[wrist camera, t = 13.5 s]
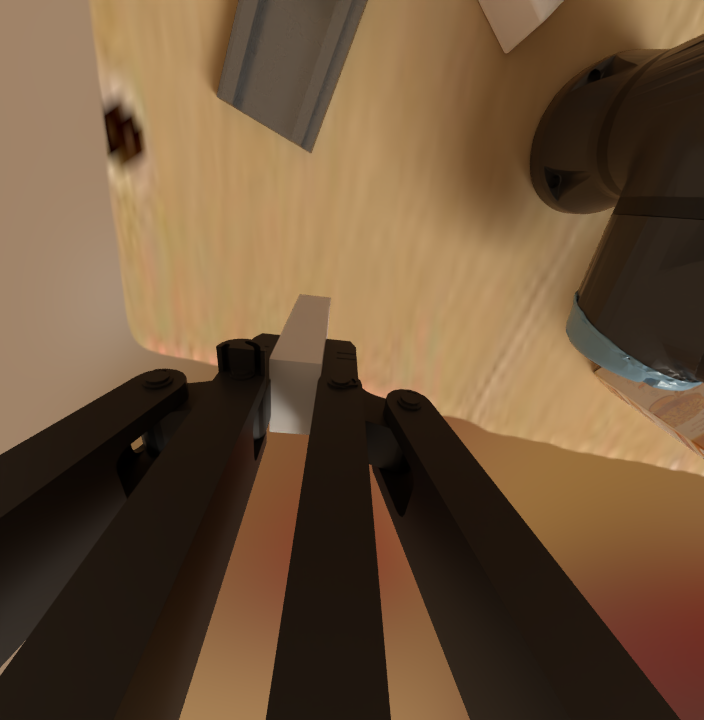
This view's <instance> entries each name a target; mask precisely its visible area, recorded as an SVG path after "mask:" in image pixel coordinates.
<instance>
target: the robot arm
mask: <svg viewBox="0 0 704 720" xmlns="http://www.w3.org/2000/svg"><path fill="white" fill-rule="evenodd" d="M530 169H531V177H532V181H533V185H534V187H535V190H536V192H537V194H538V195H539V197H540V198H541V199H542V200H543V201H544V203H546V204H547V205H548V206H549V207H551V208H553V209H555V210H557V211H560V212H564V213H572V214H590V213H596V212H601V211H604V210H607V209H610V208H612V207H615V206H616V207H615V209H614V211H613V213H612V215H611V217H610V220H609V222H608V224H607V226H606V229H605V231H604V233H603V236H602V238H601V240H600V242H599V245H598V247H597V249H596V251H595V254H594V256H593V258H592V261H591V263H590V265H589V267H588V270H587V272H586V274H585V276H584V279H583V281H582V283H581V286H580V288H579V290H578V291H577V292H576V293H575V295H574V298H573V303H574V304H573V307H572V309H571V312H570V315H569V317H568V320H567V323H566V333H567V335H568V337H569V340H570V342H571V343H572V344H573V346H574V347H575V348H576V349H577V350H578V351H579V352H581V353H582V354H583V355H584V356H586V357H587V358H588V359H590V360H591V361H593V362H594V363H596V364H598V365H599V366H601V367H603V368H605V369H607V370H609V371H611V372H613V373H615V374H617V375H619V376H621V377H624V378H626V379H629V380H632V381H634V382H642V381H643V382H644V383H646V384H648V385H649V386H651V387H654V388H659V389H663V390H670V391H684V390H688V389H691V388H693V387H695V386H698V385H700V384H702V383H704V34H702V35H700V36H698V37H696V38H694V39H691V40H689V41H687V42H685V43H683V44H681V45H679V46H677V47H674V48H672V49H636V50H628V51H624V52H620V53H617V54H614V55H611V56H609V57H607V58H605V59H603V60H601V61H599V62H597V63H595V64H594V65H592V66H590V67H588V68H586V69H585V70H583V71H582V72H580V73H579V74H577V75H576V76H575V77H574V78H572V79H571V80H570V81H569V82H568V83H567V84H566V85H565V86H564V87H563V88H562V89H561V90H560V92H559V93H558V94H557V95H556V96H555V98H554V99H553V100H552V102H551V103H550V105H549V106H548V108H547V110H546V111H545V113H544V115H543V117H542V119H541V121H540V123H539V126H538V128H537V131H536V134H535V137H534V140H533V144H532V150H531V158H530ZM330 302H331V298H329V297H320V296H311V295H302V294H300V295H299V297H298V299H297V301H296V303H295V305H294V307H293V309H292V312H291V314H290V316H289V318H288V320H287V322H286V324H285V326H284V329H283V331H282V333H281V335H274V334H264V333H262V334H260V335H258V336H256V337H254V338H253V339H252V340H251V339H233V340H228V341H225V342H222V343H220V344H219V345H217V346H216V349H217V358H218V368H219V372H218V374H217V375H216V377H215V378H214V379H213V380H212V381H206V382H197V383H187V378H186V376H185V375H184V373H182V372H180V371H178V370H173V369H155V370H153V371H148V372H145V373H143V374H140V375H138V376H136V377H134V378H132V379H131V380H129V381H127V382H126V383H124V384H122V385H121V386H119V387H117V388H115V389H113V390H112V391H110V392H108V393H107V394H105V395H103V396H102V397H100V398H98V399H96V400H94V401H93V402H91V403H89V404H88V405H86V406H84V407H82V408H81V409H79V410H77V411H75V412H74V413H72V414H70V415H69V416H67V417H65V418H64V419H62V420H60V421H58V422H56V423H55V424H53V425H51V426H50V427H48V428H46V429H44V430H43V431H41V432H39V433H37V434H36V435H34V436H33V437H30V438H29V439H27V440H25V441H23V442H22V443H20V444H18V445H17V446H15V447H13V448H12V449H10V450H8V451H6V452H5V453H3V454H1V455H0V667H1V666H2V665H3V664H4V663H5V662H6V661H7V660H8V659H9V658H10V657H11V655H12V654H13V653H14V652H15V651H16V650H17V649H18V648H19V647H20V646H21V645H22V644H23V642H24V641H25V640H26V641H25V642H24V644H23V645H22V647H21V648H20V649H19V650H18V652H17V653H16V655H15V656H14V657H13V659H12V660H11V662H10V663H9V664H8V666H7V667H6V669H5V670H4V671H3V673H2V674H1V675H0V720H179V718H180V714H181V711H182V708H183V705H184V702H185V698H186V695H187V692H188V689H189V686H190V683H191V680H192V677H193V673H194V670H195V667H196V664H197V661H198V657H199V654H200V651H201V648H202V645H203V642H204V638H205V635H206V632H207V629H208V626H209V623H210V620H211V616H212V613H213V610H214V607H215V604H216V601H217V597H218V594H219V591H220V588H221V585H222V582H223V579H224V575H225V572H226V569H227V566H228V563H229V560H230V556H231V553H232V550H233V547H234V544H235V541H236V537H237V534H238V531H239V528H240V525H241V522H242V518H243V515H244V512H245V509H246V506H247V503H248V500H249V496H250V493H251V490H252V487H253V484H254V481H255V477H256V474H257V471H258V468H259V465H260V462H261V458H262V455H263V452H264V449H265V446H266V430H267V427H268V424H269V421H270V432H282V433H295V434H306V435H309V442H308V448H307V455H306V461H305V468H304V474H303V481H302V487H301V494H300V500H299V507H298V513H297V520H296V527H295V533H294V539H293V546H292V553H291V559H290V565H289V572H288V578H287V585H286V591H285V598H284V604H283V611H282V617H281V624H280V630H279V637H278V644H277V650H276V657H275V663H274V670H273V676H272V682H271V689H270V695H269V702H268V709H267V715H266V720H391V716H390V705H389V692H388V681H387V669H386V659H385V646H384V634H383V623H382V611H381V599H380V588H379V576H378V565H377V553H376V542H375V531H374V519H373V507H372V495H371V484H370V472H369V464H371V465H372V469H373V473H374V475H375V478H376V481H377V483H378V486H379V488H380V491H381V493H382V496H383V498H384V501H385V504H386V506H387V509H388V511H389V514H390V516H391V519H392V521H393V524H394V526H395V529H396V532H397V534H398V537H399V539H400V542H401V544H402V547H403V550H404V552H405V555H406V557H407V560H408V562H409V565H410V567H411V570H412V572H413V575H414V577H415V580H416V582H417V585H418V588H419V590H420V593H421V595H422V598H423V600H424V603H425V606H426V608H427V611H428V613H429V616H430V618H431V621H432V624H433V626H434V629H435V631H436V634H437V636H438V639H439V641H440V644H441V647H442V649H443V652H444V654H445V657H446V659H447V662H448V664H449V667H450V670H451V672H452V675H453V677H454V680H455V682H456V685H457V687H458V690H459V692H460V695H461V698H462V700H463V703H464V705H465V708H466V710H467V713H468V716H469V718H470V720H680V719H679V717H678V716H677V715H676V713H675V712H674V711H673V710H672V708H671V707H670V706H669V705H668V703H667V702H666V701H665V700H664V698H663V697H662V696H661V695H660V693H659V692H658V691H657V689H656V688H655V687H654V685H653V684H652V683H651V682H650V680H649V679H648V678H647V677H646V675H645V674H644V673H643V671H642V670H641V669H640V668H639V666H638V665H637V664H636V663H635V661H634V660H633V659H632V657H631V656H630V655H629V654H628V652H627V651H626V650H625V649H624V647H623V646H622V645H621V643H620V642H619V641H618V640H617V638H616V637H615V636H614V635H613V633H612V632H611V631H610V629H609V628H608V627H607V626H606V624H605V623H604V622H603V621H602V619H601V618H600V617H599V615H598V614H597V613H596V612H595V610H594V609H593V608H592V607H591V605H590V604H589V603H588V602H587V600H586V599H585V598H584V596H583V595H582V594H581V593H580V591H579V590H578V589H577V588H576V586H575V585H574V584H573V582H572V581H571V580H570V579H569V577H568V576H567V575H566V574H565V572H564V571H563V570H562V568H561V567H560V566H559V565H558V563H557V562H556V561H555V560H554V558H553V557H552V556H551V554H550V553H549V552H548V551H547V549H546V548H545V547H544V546H543V544H542V543H541V542H540V540H539V539H538V538H537V537H536V535H535V534H534V533H533V532H532V530H531V529H530V528H529V526H528V525H527V524H526V523H525V521H524V520H523V519H522V518H521V516H520V515H519V514H518V513H517V511H516V510H515V509H514V507H513V506H512V505H511V504H510V502H509V501H508V500H507V498H506V497H505V496H504V495H503V493H502V492H501V491H500V490H499V488H498V487H497V486H496V484H495V483H494V482H493V481H492V479H491V478H490V477H489V476H488V474H487V473H486V472H485V470H484V469H483V468H482V467H481V466H480V464H479V463H478V462H477V460H476V459H475V458H474V457H473V455H472V454H471V453H470V451H469V450H468V449H467V448H466V446H465V445H464V444H463V442H462V441H461V440H460V439H459V437H458V436H457V435H456V434H455V432H454V431H453V430H452V429H451V427H450V426H449V425H448V423H447V422H446V421H445V420H444V418H443V417H442V416H441V414H440V413H439V412H438V411H437V409H436V408H435V407H434V406H433V404H432V403H431V402H430V401H429V400H428V399H427V398H426V397H425V396H423V395H421V394H419V393H418V392H415V391H412V390H404V389H399V390H394V391H392V392H390V393H388V395H387V397H386V399H385V398H382V397H378V396H375V395H373V394H370V393H369V392H367V391H365V390H364V389H363V388H362V384H361V381H360V380H359V379H358V371H357V357H356V347H355V346H354V345H353V344H352V343H351V342H350V341H341V340H332V339H327V335H328V324H329V313H330ZM140 436H141V437H142V440H143V444H142V445H141V446H140V447H139V448H137V449H135V450H133V449H132V447H131V443H133V442H134V441H135V440H136V439H138V438H139V437H140Z"/></svg>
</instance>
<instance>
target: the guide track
mask: <svg viewBox="0 0 704 720" xmlns="http://www.w3.org/2000/svg"><path fill="white" fill-rule="evenodd" d="M367 1H368V0H239V1H238V6H237V10H236V14H235V19H234V23H233V27H232V32H231V36H230V40H229V45H228V49H227V53H226V58H225V62H224V66H223V71H222V75H221V79H220V84H219V88H218V92H217V97H218V98H219V99H221V100H223V101H224V102H226V103H228V104H229V105H231V106H233V107H234V108H236V109H238V110H239V111H241V112H243V113H244V114H246V115H248V116H249V117H251V118H253V119H254V120H256V121H258V122H259V123H261V124H263V125H264V126H266V127H268V128H269V129H271V130H273V131H274V132H276V133H278V134H279V135H281V136H283V137H284V138H286V139H288V140H289V141H291V142H293V143H294V144H296V145H298V146H300V147H301V148H303V149H305V150H306V151H308V152H310V153H312V150H313V147H314V144H315V142H316V139H317V136H318V134H319V131H320V128H321V126H322V123H323V120H324V117H325V115H326V112H327V109H328V107H329V104H330V101H331V99H332V96H333V93H334V90H335V88H336V85H337V82H338V80H339V77H340V74H341V71H342V69H343V66H344V63H345V61H346V58H347V55H348V53H349V50H350V47H351V44H352V42H353V39H354V36H355V34H356V31H357V28H358V26H359V23H360V20H361V17H362V15H363V12H364V9H365V7H366V4H367Z"/></svg>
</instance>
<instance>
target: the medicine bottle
mask: <svg viewBox="0 0 704 720" xmlns="http://www.w3.org/2000/svg"><path fill="white" fill-rule="evenodd" d="M563 1H564V0H478V2H479V4H480V6H481V8H482V10H483V12H484V14H485V15H486V17H487V19H488V21H489V23H490V25H491V27H492V29H493V31H494V33H495V35H496V37H497V39H498V41H499V43H500V45H501V47H502V49H503V51H504V53H509V52H510V51H511V50H512V49H513V48H515V47H516V46H517V45H518V44H519V43H520V42H521V41H522V40H524V39H525V38H526V37H527V36H528V35H529V34H530V33H531V32H533V31H534V30H535V29H536V28H537V27H538V26H539V25H540V24H542V23H543V22H544V21H545V20H546V19H547V18H548V17H549V16H550V15H551V14H552V13H553V12H554V10H555V9H556V8H557V7H558V6H559V5H560V4H561V3H562V2H563Z"/></svg>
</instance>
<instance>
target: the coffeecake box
mask: <svg viewBox="0 0 704 720" xmlns="http://www.w3.org/2000/svg"><path fill="white" fill-rule="evenodd" d="M594 374H595V375H596V376H597V377H598V378H599V379H600V381H601V382H602V383H603V384H604V385H605V386H606V387H607V388H608V389H609V390H610V391H611V392H612V393H613V394H615V395H616V396H617V397H619V398H620V399H621V400H623V401H624V402H625V403H627V404H628V405H630V406H631V407H632V408H634V409H635V410H637V411H638V412H639V413H641V414H642V415H643V416H645V417H646V418H648V419H649V420H650V421H652V422H653V423H655V424H656V425H657V426H659V427H660V428H661V429H663V430H664V431H666V432H667V433H668V434H670V435H671V436H673V437H674V438H675V439H677V440H678V441H679V442H681V443H682V444H684V445H685V446H686V447H688V448H689V449H691V450H692V451H693V452H695V453H696V454H697V455H699V456H700V457H702V458H703V459H704V383H702V384H700V385H698V386H695V387H693V388H691V389H688V390H684V391H670V390H663V389H659V388H654V387H651V386H649V385H648V384H646V383H644V382H643V381H642V382H634V381H632V380H629V379H626V378H624V377H621V376H619V375H617V374H615V373H613V372H611V371H609V370H607V369H605V368H603V367H601V368H599V369H598V370H597V371H595V372H594Z"/></svg>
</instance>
